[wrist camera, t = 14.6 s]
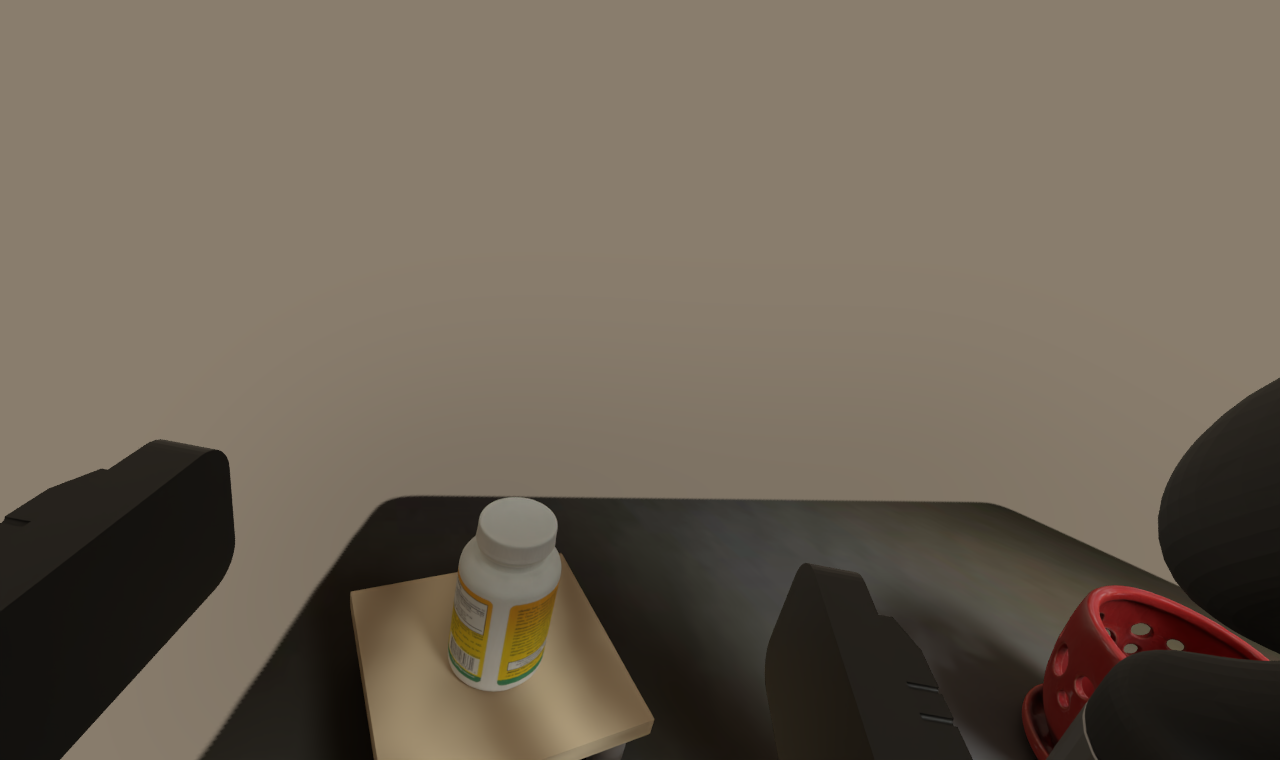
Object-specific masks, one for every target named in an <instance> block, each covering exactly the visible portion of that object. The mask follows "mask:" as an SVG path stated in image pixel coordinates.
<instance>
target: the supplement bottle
mask: <svg viewBox="0 0 1280 760" xmlns="http://www.w3.org/2000/svg"><path fill="white" fill-rule="evenodd" d="M557 528H558V524H557V519H556V517H555V515H554V514H553V512H552V511H551V510H550V509H549V508H548V507H546V506H545V505H543V504H542V503H539V502H537V501H535V500H532V499H527V498H521V497H509V498H504V499H499V500H496V501H494V502H492V503H490V504H489V505H487V506H486V507H485V508H484V510H483V511H482V512H481V515H480V518H479V523H478V529H477V532H476V536H475V537H473V538H472V539H471V540H470V541H469V542H468V543H467V545H466V546H465V548H464V549H463V551H462V554H461V557H460V560H459V566H458V574H457V581H456V589H455V596H454V604H453V611H452V619H451V627H450V634H449V642H448V659H449V663H450V666H451V668H452V670H453V672H454V673H455V674H456V676H457V677H458V678H459V679H460V680H461V681H463V682H464V683H465V684H467V685H469V686H471V687H473V688H475V689H479V690H483V691H491V692H495V691H504V690H508V689H511V688H513V687H516V686H518V685H520V684H522V683H524V682H525V681H527V680H528V679H529V678H530V677H531V676H532V675H533V674H534V673H535V672H536V670H537V669H538V667H539V665H540V663H541V661H542V657H543V653H544V649H545V644H546V640H547V635H548V631H549V626H550V621H551V617H552V612H553V608H554V603H555V599H556V594H557V590H558V586H559V581H560V576H561V559H560V556H559V553H558V551H557V549H556V548H555V542H556V534H557Z"/></svg>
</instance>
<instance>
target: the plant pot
mask: <svg viewBox="0 0 1280 760" xmlns="http://www.w3.org/2000/svg"><path fill="white" fill-rule="evenodd" d="M1138 623H1144V624H1147V625H1148V626H1149V627H1150V628H1151V630H1150V632H1149V633H1148V634H1145V635H1135V634H1133V633H1131V627H1132V626H1133V625H1135V624H1138ZM1106 629H1108V630H1109V631H1110V633H1111V637H1110V636H1109V634H1108V632H1107V631H1106ZM1170 639H1175V640H1178V641H1180V642H1181V643H1182V644H1183V645H1184V649H1183V650H1182V651H1186V652H1193V653H1200V654H1207V655H1213V656H1220V657H1228V658H1236V659H1245V660H1258V661H1270V660H1268V659H1267V658H1266V657H1265V656H1263V655H1262V654H1261V653H1260V652H1258V651H1257V650H1256V649H1254V648H1253V647H1252V646H1250V645H1249V644H1248V643H1246V642H1245V641H1243V640H1242V639H1240V638H1239V637H1237V636H1236V635H1234V634H1233V633H1231V632H1229V631H1228V630H1226V629H1225V628H1223V627H1222V626H1220V625H1219V624H1217V623H1215V622H1214V621H1212V620H1210V619H1208V618H1206V617H1205V616H1203V615H1201V614H1199V613H1197V612H1195V611H1193V610H1191V609H1189V608H1187V607H1185V606H1183V605H1181V604H1179V603H1176V602H1174V601H1172V600H1169V599H1167V598H1165V597H1162V596H1159V595H1157V594H1154V593H1151V592H1148V591H1145V590H1141V589H1137V588H1133V587H1126V586H1104V587H1100V588H1097V589H1094V590H1093V591H1091V592H1090V593H1089V594H1088V595H1087V596H1086V597H1085V598H1084V599H1083V601H1082V602H1081V603H1080V604H1079V606H1078V607H1077V609H1076V610H1075V611H1074V613H1073V614H1072V616H1071V617H1070V619H1069V621H1068V622H1067V624H1066V626H1065V627H1064V629H1063V631H1062V632H1061V634H1060V636H1059V637H1058V639H1057V642H1056V644H1055V646H1054V649H1053V651H1052V654H1051V656H1050V659H1049V661H1048V664H1047V667H1046V671H1045V676H1044V683H1043V684H1039V685H1037V686H1035V687H1033V688H1032V689H1031V690H1030V691H1029V692H1028V693H1027V695H1026V697H1025V699H1024V702H1023V705H1022V720H1023V726H1024V730H1025V733H1026V736H1027V739H1028V741H1029V743H1030V746H1031V748H1032V750H1033V752H1034V753H1035V755H1036V757H1037V759H1038V760H1046V759H1047V757H1048V756H1049V755H1050V753H1051V752H1052V751H1053V749H1054V747H1055V746H1056V744H1057V743H1058V741H1059V740H1060V739H1061V737H1062V736H1063V734H1064V733H1065V732H1066V730H1067V729H1068V727H1069V726H1070V725H1071V723H1072V722H1073V721H1074V719H1075V718H1076V716H1077V715H1078V714H1079V712H1080V711H1081V709H1082V708H1083V707H1084V705H1085V704H1086V703H1087V702H1088V700H1089V698H1090V697H1091V696H1092V694H1093V693H1094V691H1095V690H1096V688H1097V687H1098V686H1099V684H1100V683H1101V681H1102V680H1103V679H1104V677H1105V676H1106V675H1107V674H1108V672H1109V671H1110V670H1111V669H1112V668H1113V667H1114V666H1115V665H1116V664H1117V663H1118V662H1119V661H1121V660H1123V659H1124V658H1126V657H1128V656H1130V655H1132V654H1135V653H1139V652H1142V651H1150V650H1171V649H1170V648H1169V647H1168V646H1167V644H1166V643H1167V641H1168V640H1170ZM1127 644H1135V645H1136V646H1137V647H1138V649H1137V651H1136V652H1135V653H1132V654H1131V653H1125V652H1124V647H1125V645H1127Z"/></svg>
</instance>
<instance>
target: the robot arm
mask: <svg viewBox="0 0 1280 760" xmlns="http://www.w3.org/2000/svg"><path fill="white" fill-rule="evenodd" d="M1158 532H1159V542H1160V546H1161V550H1162V553H1163V557H1164V560H1165V562H1166V564H1167V566H1168V568H1169V570H1170V572H1171V574H1172V576H1173V578H1174V579H1175V581H1176V582H1177V583H1178V585H1179V586H1180V587H1181V588H1182V589H1183V590H1184V592H1185V593H1186V594H1187V595H1188V596H1189V598H1190V599H1191V600H1192V601H1193V602H1195V603H1196V604H1197V605H1198V606H1200V607H1201V608H1202V609H1203V610H1205V611H1206V612H1207V613H1209V614H1210V615H1211V616H1213V617H1214V618H1215V619H1217V620H1218V621H1220V622H1221V623H1222V624H1224V625H1225V626H1227V627H1229V628H1230V629H1232V630H1233V631H1235V632H1237V633H1238V634H1240V635H1242V636H1244V637H1246V638H1248V639H1250V640H1252V641H1254V642H1256V643H1258V644H1260V645H1262V646H1264V647H1266V648H1268V649H1270V650H1272V651H1275V652H1277V653H1279V654H1280V378H1278V379H1277V380H1275V381H1273V382H1271V383H1270V384H1268V385H1266V386H1265V387H1263V388H1261V389H1259V390H1258V391H1256V392H1254V393H1252V394H1251V395H1249V396H1248V397H1246V398H1245V399H1244V400H1242V401H1241V402H1240V403H1238V404H1237V405H1236V406H1234V407H1233V408H1232V409H1230V410H1229V411H1228V412H1226V413H1225V414H1224V415H1223V416H1221V417H1220V418H1219V419H1218V420H1217V421H1216V422H1215V423H1214V424H1213V425H1212V426H1211V427H1210V428H1209V429H1207V430H1206V431H1205V432H1204V433H1203V434H1202V435H1201V436H1200V437H1199V438H1198V439H1197V440H1196V441H1195V442H1194V444H1193V445H1192V446H1191V447H1190V448H1189V450H1188V451H1187V452H1186V453H1185V455H1184V456H1183V457H1182V459H1181V460H1180V462H1179V463H1178V465H1177V466H1176V468H1175V470H1174V471H1173V473H1172V475H1171V477H1170V479H1169V481H1168V483H1167V486H1166V488H1165V491H1164V493H1163V496H1162V500H1161V505H1160V511H1159V515H1158ZM234 548H235V532H234V519H233V506H232V494H231V481H230V468H229V462H228V459H227V457H226V455H225V454H224V453H223V452H222V451H219V450H215V449H210V448H204V447H199V446H193V445H188V444H183V443H178V442H172V441H167V440H161V439H160V440H155V441H152V442H149V443H148V444H146V445H144V446H143V447H141V448H140V449H139V450H137V451H136V452H134V453H132V454H131V455H129V456H128V457H126V458H125V459H123V460H122V461H121V462H119V463H118V464H116V465H114V466H113V467H111V468H110V469H108V470H105V469H99V470H97V471H94V472H91V473H89V474H86V475H84V476H81V477H78V478H76V479H73V480H70V481H68V482H65V483H62V484H60V485H57V486H54V487H52V488H49V489H47V490H46V491H44V492H43V493H41V494H39V495H38V496H36V497H35V498H33V499H32V500H30V501H28V502H27V503H25V504H24V505H22V506H21V507H19V508H17V509H16V510H14V511H13V512H11V513H10V514H8V515H7V516H5V519H4V521H3V522H2V523H0V760H60V759H61V758H62V757H63V756H64V755H65V754H66V752H67V751H68V750H69V749H70V748H71V747H72V746H73V745H74V744H75V742H76V741H77V740H78V739H79V738H80V737H81V736H82V735H83V734H84V733H85V732H86V731H87V729H88V728H89V727H90V726H91V725H92V724H93V723H94V722H95V721H96V719H97V718H98V717H99V716H100V715H101V714H102V713H103V711H105V710H106V708H107V707H108V706H109V705H110V704H111V703H112V702H113V701H114V700H115V699H116V697H117V696H118V695H119V694H120V693H121V692H122V691H123V690H124V689H125V688H126V686H127V685H128V684H129V683H130V682H131V681H132V680H133V679H134V678H135V677H136V676H137V674H138V673H139V672H140V671H141V670H142V669H143V668H144V667H145V666H146V664H148V662H149V661H150V660H151V659H152V658H153V657H154V656H155V654H157V653H158V651H159V650H160V649H161V648H162V647H163V646H164V645H165V644H166V643H167V642H168V640H169V639H170V638H171V637H172V636H173V635H174V634H175V633H176V632H177V631H178V629H179V628H180V627H181V626H182V625H183V624H184V623H185V622H186V621H187V619H188V618H189V617H190V616H191V615H192V614H193V613H194V612H195V611H196V610H197V608H198V607H199V606H200V605H201V604H202V603H203V602H204V601H205V600H206V599H207V597H208V596H209V595H210V594H211V593H212V592H213V591H214V590H215V589H216V587H217V586H218V585H219V584H220V582H221V581H222V579H223V578H224V576H225V574H226V572H227V570H228V568H229V565H230V563H231V560H232V557H233V553H234ZM765 685H766V691H767V697H768V703H769V708H770V714H771V720H772V726H773V731H774V737H775V743H776V748H777V754H778V760H973V759H972V757H971V755H970V753H969V751H968V748H967V746H966V744H965V742H964V740H963V738H962V736H961V734H960V731H959V729H958V727H955V726H953V717H952V714H951V712H950V710H949V708H948V706H947V704H946V702H945V700H944V697H943V695H941V694H939V693H938V688H939V687H938V685H937V682H936V680H935V678H934V676H933V674H932V672H931V670H930V668H929V665H928V663H927V661H926V659H925V657H924V655H923V653H922V651H921V649H920V648H919V647H918V646H917V645H916V644H915V643H914V641H913V640H912V639H911V638H910V637H909V636H908V634H907V633H906V632H905V631H904V630H903V629H902V628H901V626H900V625H899V624H898V623H897V622H896V621H895V620H894V618H893V617H887V616H882V615H878V613H877V610H876V608H875V606H874V603H873V601H872V598H871V596H870V594H869V591H868V589H867V586H866V584H865V582H864V580H863V578H862V577H861V575H860V574H858V573H856V572H851V571H846V570H840V569H835V568H830V567H825V566H819V565H814V564H809V563H804V564H803V565H801V567H800V568H799V569H798V571H797V573H796V575H795V578H794V580H793V583H792V585H791V588H790V590H789V593H788V595H787V598H786V600H785V603H784V605H783V608H782V610H781V613H780V615H779V618H778V620H777V623H776V625H775V628H774V630H773V633H772V635H771V638H770V641H769V644H768V648H767V653H766V661H765ZM1046 760H1280V661H1258V660H1245V659H1236V658H1228V657H1220V656H1213V655H1207V654H1200V653H1193V652H1186V651H1177V650H1150V651H1142V652H1139V653H1135V654H1132V655H1130V656H1128V657H1126V658H1124V659H1123V660H1121V661H1119V662H1118V663H1117V664H1116V665H1115V666H1114V667H1113V668H1112V669H1111V670H1110V671H1109V672H1108V674H1107V675H1106V676H1105V677H1104V679H1103V680H1102V681H1101V683H1100V684H1099V686H1098V687H1097V688H1096V690H1095V691H1094V693H1093V694H1092V696H1091V697H1090V698H1089V700H1088V702H1087V703H1086V704H1085V705H1084V707H1083V708H1082V709H1081V711H1080V712H1079V714H1078V715H1077V716H1076V718H1075V719H1074V721H1073V722H1072V723H1071V725H1070V726H1069V727H1068V729H1067V730H1066V732H1065V733H1064V734H1063V736H1062V737H1061V739H1060V740H1059V741H1058V743H1057V744H1056V746H1055V747H1054V749H1053V751H1052V752H1051V753H1050V755H1049V756H1048V757H1047V759H1046Z"/></svg>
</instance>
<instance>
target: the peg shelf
mask: <svg viewBox="0 0 1280 760" xmlns="http://www.w3.org/2000/svg"><path fill="white" fill-rule="evenodd" d="M559 556H560V559H561V576H560V581H559V586H558V590H557V594H556V599H555V603H554V608H553V612H552V617H551V621H550V626H549V631H548V635H547V640H546V644H545V649H544V653H543V657H542V661H541V663H540V665H539V667H538V669H537V670H536V672H535V673H534V674H533V675H532V676H531V677H530V678H529V679H528V680H527V681H525V682H524V683H522V684H520V685H518V686H516V687H513V688H511V689H508V690H504V691H495V692H491V691H483V690H479V689H475V688H473V687H471V686H469V685H467V684H465V683H464V682H463V681H461V680H460V679H459V678H458V677H457V676H456V674H455V673H454V672H453V670H452V668H451V666H450V663H449V659H448V642H449V634H450V627H451V619H452V611H453V604H454V596H455V589H456V581H457V574H458V572H456V573H450V574H445V575H439V576H434V577H428V578H423V579H417V580H412V581H407V582H401V583H396V584H390V585H385V586H379V587H374V588H368V589H363V590H357V591H352V592H351V596H350V608H351V615H352V621H353V628H354V634H355V641H356V647H357V654H358V660H359V667H360V673H361V679H362V686H363V692H364V699H365V705H366V712H367V718H368V725H369V731H370V738H371V744H372V750H373V757H374V760H580V759H583V758H586V760H621V758H622V755H623V752H624V748H625V745H626V742H629V741H632V740H634V739H637V738H640V737H642V736H645V735H648V734H650V732H651V729H652V726H653V723H654V718H653V716H652V714H651V712H650V710H649V709H648V707H647V705H646V703H645V702H644V700H643V698H642V696H641V694H640V693H639V691H638V689H637V687H636V685H635V684H634V682H633V680H632V678H631V677H630V675H629V673H628V671H627V669H626V668H625V666H624V664H623V662H622V660H621V659H620V657H619V655H618V653H617V651H616V650H615V648H614V646H613V644H612V643H611V641H610V639H609V637H608V635H607V634H606V632H605V630H604V628H603V626H602V625H601V623H600V621H599V619H598V618H597V616H596V614H595V612H594V610H593V609H592V607H591V605H590V603H589V601H588V600H587V598H586V596H585V594H584V593H583V591H582V589H581V587H580V585H579V584H578V582H577V580H576V578H575V576H574V575H573V573H572V571H571V569H570V567H569V566H568V564H567V562H566V560H565V559H564V557H563V555H562V553H560V554H559Z"/></svg>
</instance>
